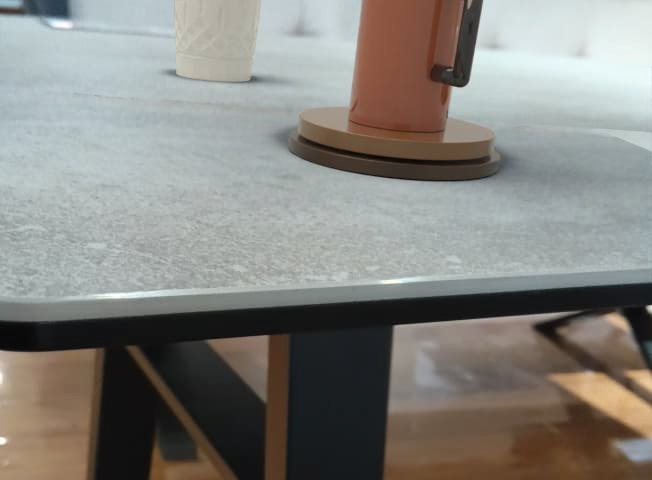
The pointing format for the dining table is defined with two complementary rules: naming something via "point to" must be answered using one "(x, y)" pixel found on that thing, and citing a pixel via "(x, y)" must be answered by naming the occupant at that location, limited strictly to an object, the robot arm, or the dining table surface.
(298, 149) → the lazy susan base
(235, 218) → the dining table surface
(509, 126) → the dining table surface
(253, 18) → the white cup
